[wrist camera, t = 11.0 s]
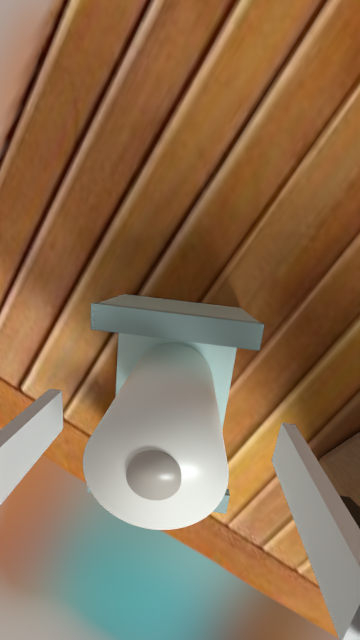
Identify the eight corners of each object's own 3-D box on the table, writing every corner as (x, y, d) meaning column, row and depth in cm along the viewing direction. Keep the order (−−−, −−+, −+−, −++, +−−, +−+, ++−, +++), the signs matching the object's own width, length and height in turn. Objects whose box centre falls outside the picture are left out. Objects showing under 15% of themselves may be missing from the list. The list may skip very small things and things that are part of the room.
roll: (136, 338, 19) (80, 401, 10) (218, 348, 18) (241, 423, 9) (131, 410, 20) (79, 523, 11) (207, 420, 20) (217, 545, 11)
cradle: (123, 293, 19) (91, 303, 13) (242, 307, 18) (264, 324, 13) (116, 433, 22) (87, 491, 16) (217, 447, 22) (226, 513, 16)
